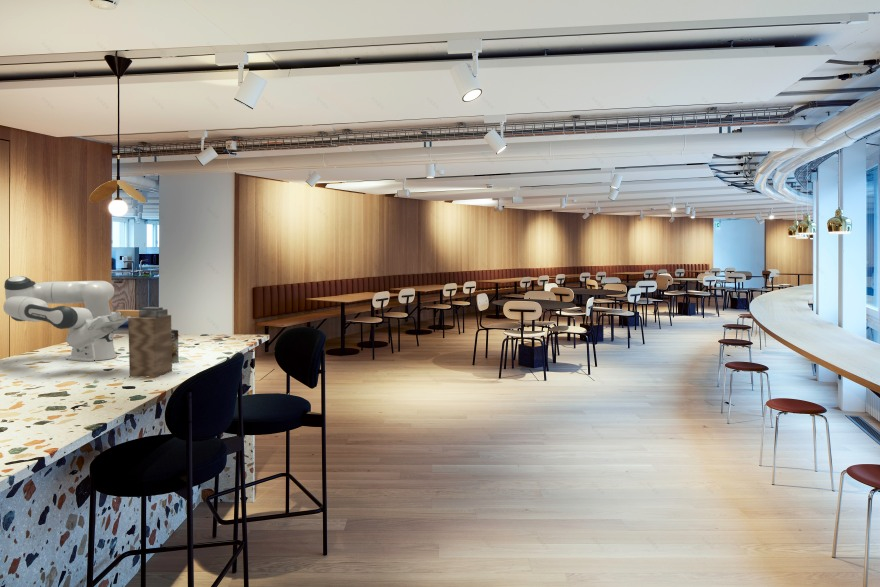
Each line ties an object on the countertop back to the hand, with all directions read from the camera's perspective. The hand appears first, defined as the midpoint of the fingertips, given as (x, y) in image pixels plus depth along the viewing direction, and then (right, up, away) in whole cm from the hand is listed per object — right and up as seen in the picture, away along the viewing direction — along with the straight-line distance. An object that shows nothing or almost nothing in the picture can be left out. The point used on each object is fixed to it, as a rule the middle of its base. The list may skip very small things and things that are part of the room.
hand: (126, 312), depth 270 cm
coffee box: (+6, -26, +27) cm, 38 cm away
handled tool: (+5, -2, 0) cm, 6 cm away
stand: (+11, -28, +1) cm, 30 cm away
